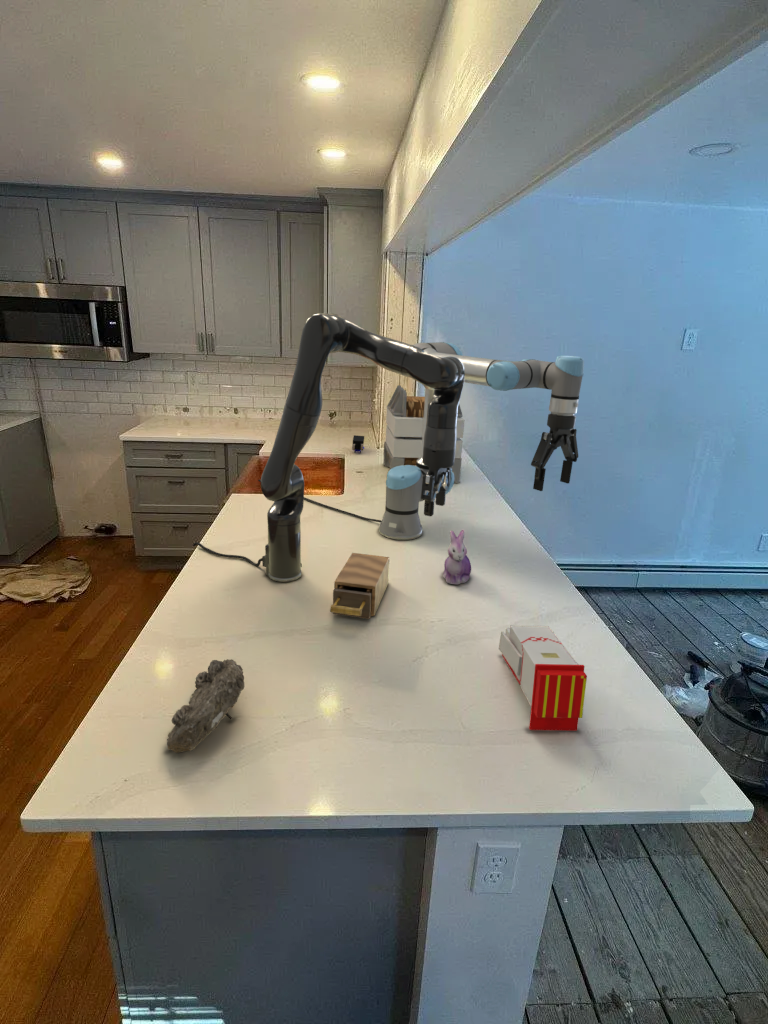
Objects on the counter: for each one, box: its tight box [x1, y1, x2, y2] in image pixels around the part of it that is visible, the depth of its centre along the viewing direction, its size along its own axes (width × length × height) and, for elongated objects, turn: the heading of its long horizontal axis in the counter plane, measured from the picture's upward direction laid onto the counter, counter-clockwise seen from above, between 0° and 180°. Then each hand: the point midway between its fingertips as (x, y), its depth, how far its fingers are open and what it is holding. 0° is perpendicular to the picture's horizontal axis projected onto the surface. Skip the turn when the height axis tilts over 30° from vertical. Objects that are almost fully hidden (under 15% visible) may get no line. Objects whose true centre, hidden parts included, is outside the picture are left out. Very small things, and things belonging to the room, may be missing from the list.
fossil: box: [166, 658, 245, 754], centre depth 106 cm, size 22×10×15 cm
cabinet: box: [334, 552, 390, 617], centre depth 154 cm, size 19×11×9 cm, turn 169°
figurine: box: [442, 529, 472, 585], centre depth 166 cm, size 9×10×15 cm
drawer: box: [329, 585, 372, 620], centre depth 148 cm, size 24×10×7 cm, turn 169°
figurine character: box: [351, 435, 365, 454], centre depth 310 cm, size 7×8×15 cm
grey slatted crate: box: [383, 384, 465, 484], centre depth 268 cm, size 34×33×41 cm
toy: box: [498, 624, 588, 732], centre depth 119 cm, size 12×13×30 cm
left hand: (434, 510), depth 138 cm, fingers open, 8 cm apart
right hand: (551, 486), depth 166 cm, fingers open, 13 cm apart
